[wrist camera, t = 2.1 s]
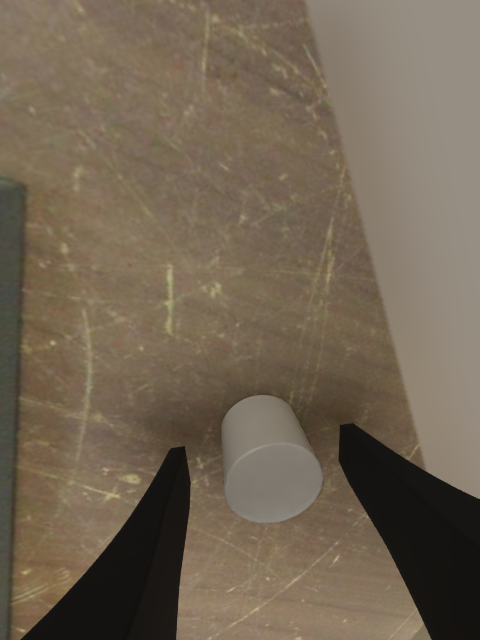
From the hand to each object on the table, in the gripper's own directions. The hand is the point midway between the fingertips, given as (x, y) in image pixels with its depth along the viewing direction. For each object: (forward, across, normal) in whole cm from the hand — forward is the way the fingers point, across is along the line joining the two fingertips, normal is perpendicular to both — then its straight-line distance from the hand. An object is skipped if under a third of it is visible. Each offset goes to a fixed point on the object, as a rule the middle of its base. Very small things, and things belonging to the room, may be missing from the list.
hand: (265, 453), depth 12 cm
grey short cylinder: (+2, 0, 0) cm, 2 cm away
